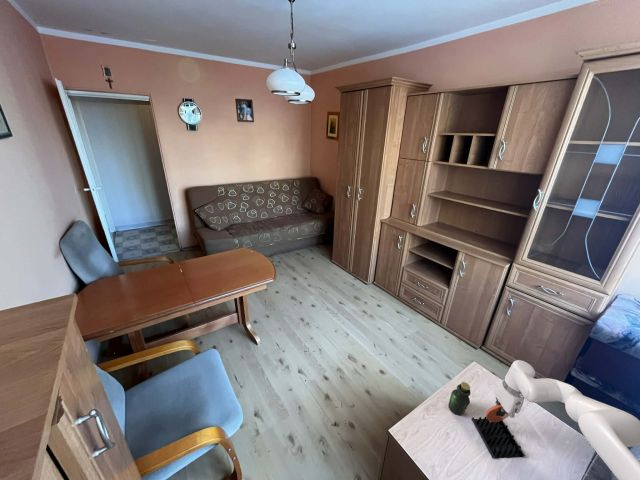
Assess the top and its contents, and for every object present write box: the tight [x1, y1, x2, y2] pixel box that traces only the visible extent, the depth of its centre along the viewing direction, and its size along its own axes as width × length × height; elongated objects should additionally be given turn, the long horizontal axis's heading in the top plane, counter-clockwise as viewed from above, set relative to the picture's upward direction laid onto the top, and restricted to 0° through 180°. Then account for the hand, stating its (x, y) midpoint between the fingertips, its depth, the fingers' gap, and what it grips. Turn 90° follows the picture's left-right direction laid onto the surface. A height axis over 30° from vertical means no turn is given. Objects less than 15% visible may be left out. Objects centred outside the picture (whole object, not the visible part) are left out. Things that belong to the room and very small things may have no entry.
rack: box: [471, 416, 526, 460], centre depth 118 cm, size 16×14×5 cm
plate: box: [485, 404, 510, 422], centre depth 118 cm, size 1×11×12 cm, turn 94°
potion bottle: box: [447, 381, 471, 417], centre depth 126 cm, size 8×8×18 cm
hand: (498, 413), depth 117 cm, fingers closed on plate, 1 cm apart
